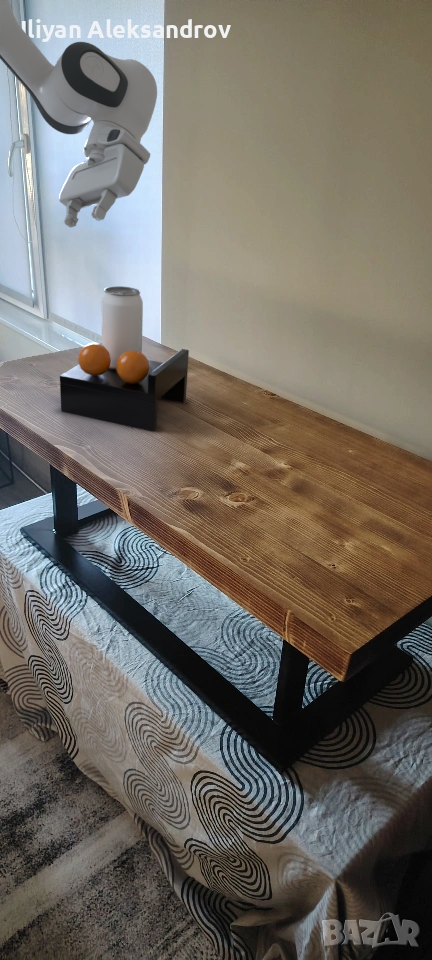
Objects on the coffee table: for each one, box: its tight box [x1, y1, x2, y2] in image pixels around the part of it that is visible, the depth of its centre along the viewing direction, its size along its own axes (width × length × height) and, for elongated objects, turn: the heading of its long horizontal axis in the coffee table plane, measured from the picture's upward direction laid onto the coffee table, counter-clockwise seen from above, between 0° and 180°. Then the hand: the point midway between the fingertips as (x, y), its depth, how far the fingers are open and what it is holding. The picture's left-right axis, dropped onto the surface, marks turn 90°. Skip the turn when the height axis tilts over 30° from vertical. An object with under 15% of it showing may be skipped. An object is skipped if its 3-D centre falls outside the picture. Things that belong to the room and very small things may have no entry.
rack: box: [59, 342, 190, 432], centre depth 101 cm, size 16×14×11 cm
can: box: [100, 285, 144, 370], centre depth 100 cm, size 6×6×12 cm
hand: (82, 221), depth 111 cm, fingers open, 8 cm apart
